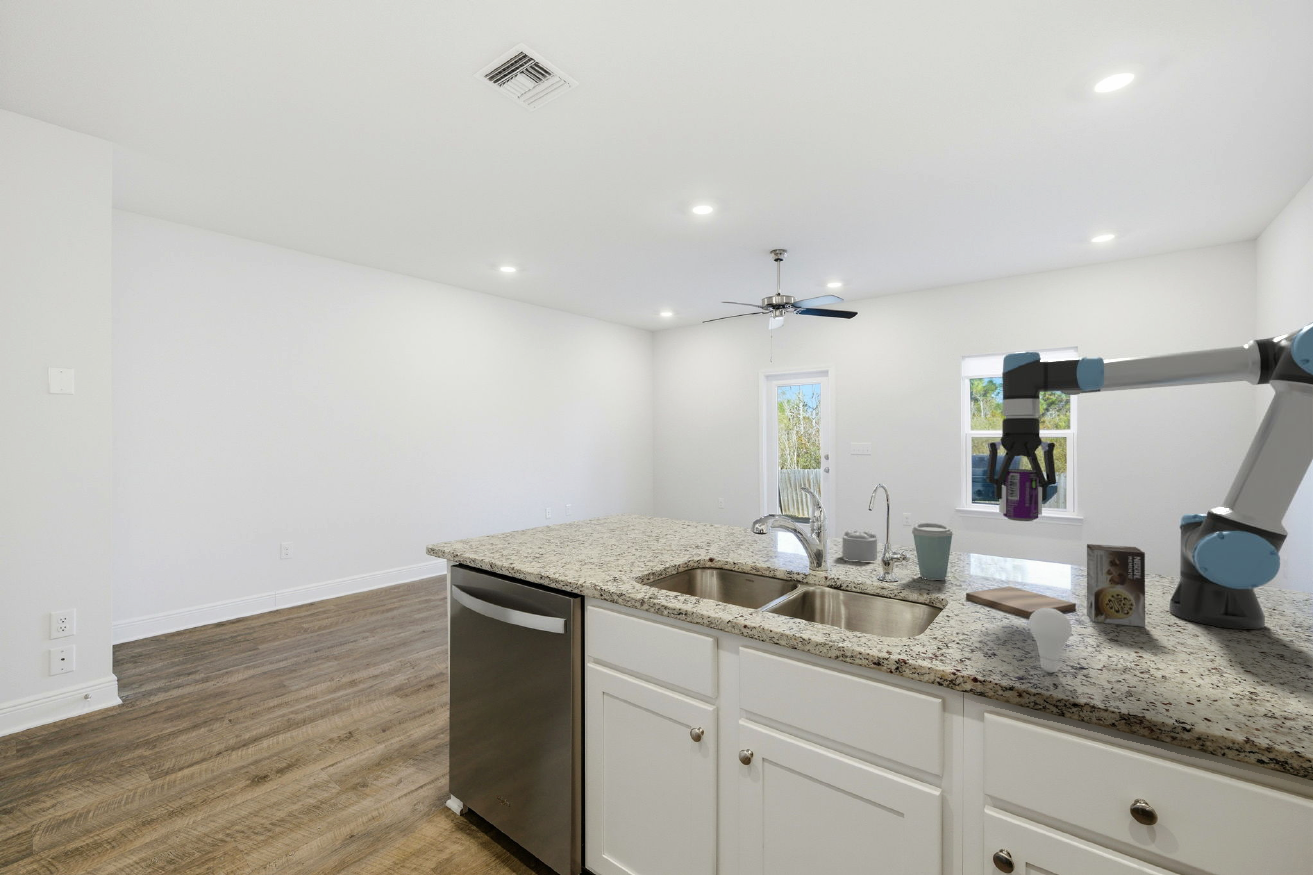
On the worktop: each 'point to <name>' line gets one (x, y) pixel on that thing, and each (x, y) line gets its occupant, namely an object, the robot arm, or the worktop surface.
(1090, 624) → the worktop surface
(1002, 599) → the walnut board
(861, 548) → the lumpy-topped squat cylinder
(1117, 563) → the coffee box
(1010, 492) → the beverage can
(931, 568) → the disposable coffee cup
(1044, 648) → the lightbulb
